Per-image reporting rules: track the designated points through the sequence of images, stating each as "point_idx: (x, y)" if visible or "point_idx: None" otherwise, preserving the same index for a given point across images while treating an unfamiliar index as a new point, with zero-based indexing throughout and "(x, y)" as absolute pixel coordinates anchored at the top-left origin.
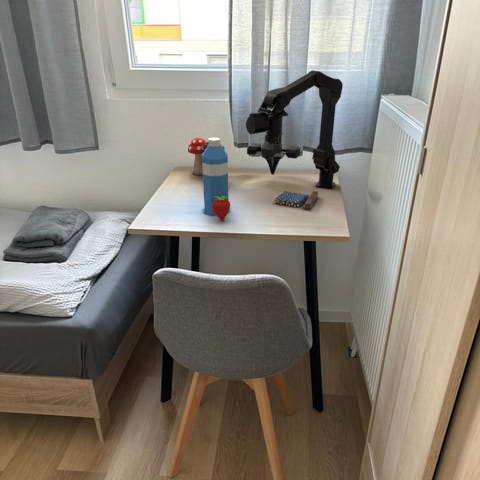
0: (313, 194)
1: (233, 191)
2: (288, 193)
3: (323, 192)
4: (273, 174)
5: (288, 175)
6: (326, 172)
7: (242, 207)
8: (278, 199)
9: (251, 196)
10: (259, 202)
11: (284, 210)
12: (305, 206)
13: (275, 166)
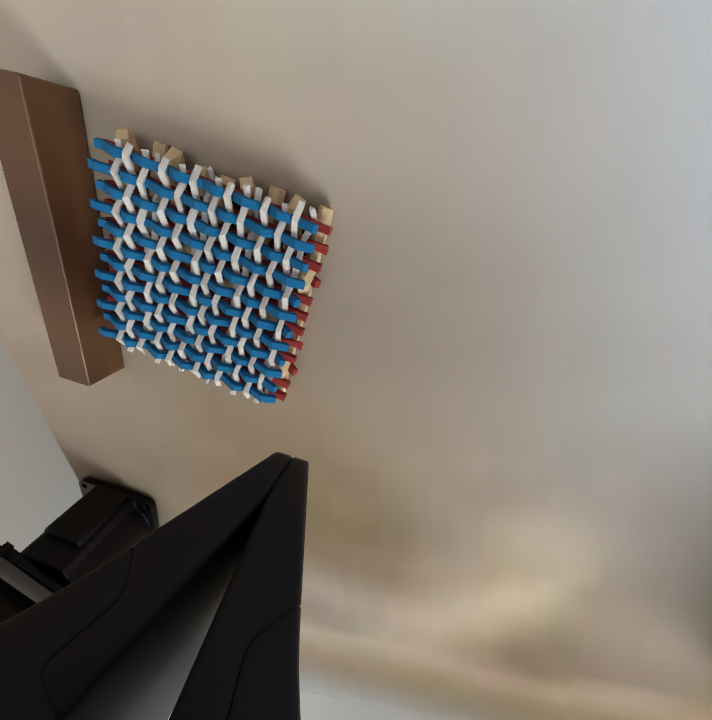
0: (57, 318)
1: (687, 479)
2: (233, 356)
3: (100, 433)
4: (276, 453)
5: (311, 633)
6: (34, 561)
7: (699, 21)
8: (286, 213)
9: (535, 374)
10: (470, 232)
11: (221, 27)
12: (41, 80)
13: (134, 547)
